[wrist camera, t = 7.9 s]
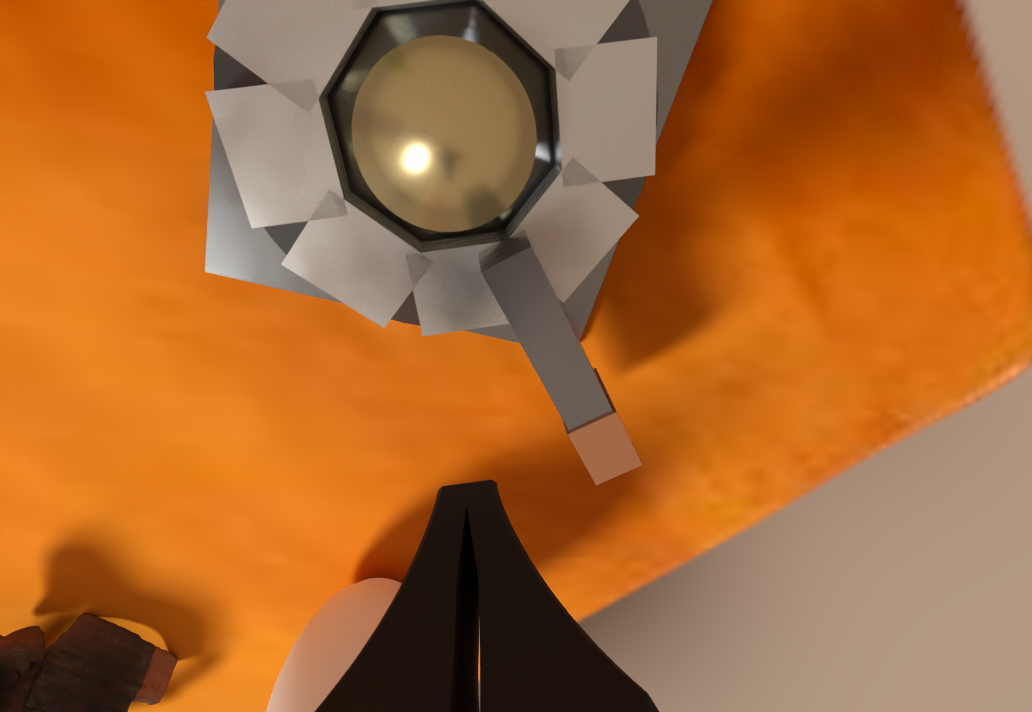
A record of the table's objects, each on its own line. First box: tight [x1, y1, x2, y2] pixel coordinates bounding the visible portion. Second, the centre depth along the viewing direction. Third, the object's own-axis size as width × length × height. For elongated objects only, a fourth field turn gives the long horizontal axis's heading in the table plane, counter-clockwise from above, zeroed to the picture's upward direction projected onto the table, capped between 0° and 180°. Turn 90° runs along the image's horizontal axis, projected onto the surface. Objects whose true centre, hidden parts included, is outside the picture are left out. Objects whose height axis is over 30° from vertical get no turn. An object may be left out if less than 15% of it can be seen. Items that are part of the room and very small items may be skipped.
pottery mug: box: [0, 613, 178, 712], centre depth 26 cm, size 12×10×8 cm
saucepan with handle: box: [205, 0, 657, 485], centre depth 16 cm, size 12×18×3 cm
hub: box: [205, 0, 713, 343], centre depth 16 cm, size 14×14×5 cm
